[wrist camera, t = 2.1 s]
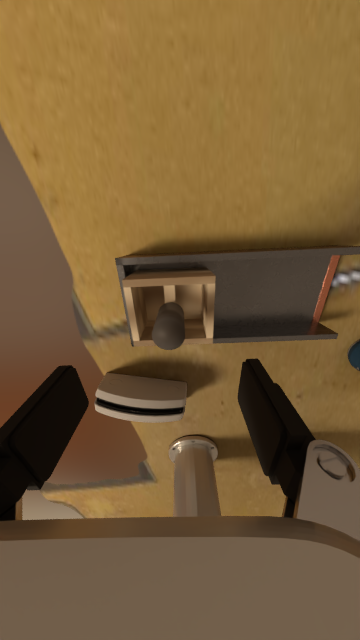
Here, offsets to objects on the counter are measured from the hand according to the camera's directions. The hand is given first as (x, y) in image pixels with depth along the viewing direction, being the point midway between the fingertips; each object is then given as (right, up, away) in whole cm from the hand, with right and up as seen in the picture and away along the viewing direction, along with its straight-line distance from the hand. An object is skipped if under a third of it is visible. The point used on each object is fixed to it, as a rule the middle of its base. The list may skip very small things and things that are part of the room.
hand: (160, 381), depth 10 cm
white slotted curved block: (-6, -9, +26) cm, 28 cm away
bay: (+9, +8, +17) cm, 21 cm away
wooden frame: (0, +7, +17) cm, 18 cm away
